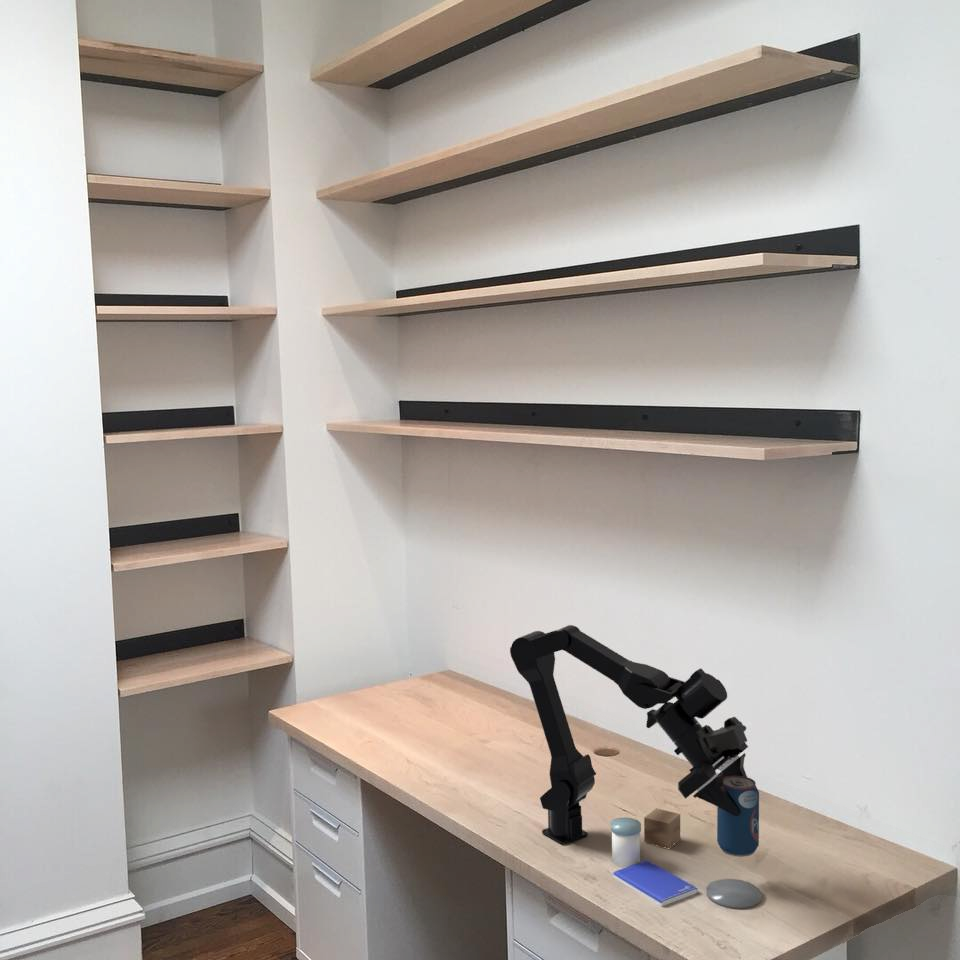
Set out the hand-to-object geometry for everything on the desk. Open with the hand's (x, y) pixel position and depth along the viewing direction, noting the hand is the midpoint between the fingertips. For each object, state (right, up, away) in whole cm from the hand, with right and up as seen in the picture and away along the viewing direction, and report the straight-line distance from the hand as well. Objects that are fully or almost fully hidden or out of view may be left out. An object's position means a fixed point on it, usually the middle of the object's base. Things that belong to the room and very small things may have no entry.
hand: (746, 807), depth 177 cm
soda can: (-1, -8, +1) cm, 8 cm away
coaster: (-3, -14, -3) cm, 14 cm away
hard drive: (-15, -15, +2) cm, 21 cm away
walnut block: (-11, -12, +18) cm, 25 cm away
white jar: (-19, -13, +10) cm, 25 cm away
